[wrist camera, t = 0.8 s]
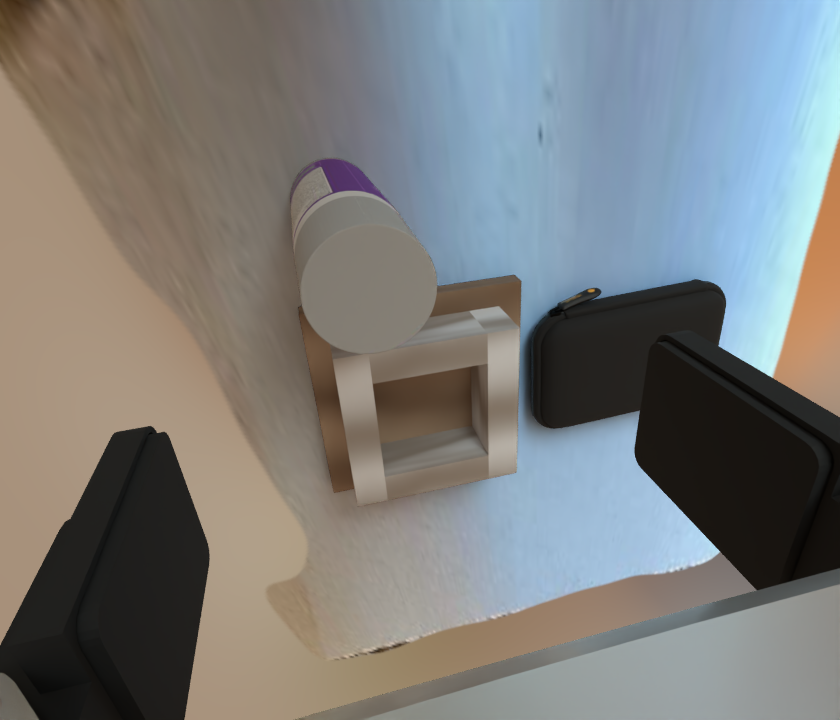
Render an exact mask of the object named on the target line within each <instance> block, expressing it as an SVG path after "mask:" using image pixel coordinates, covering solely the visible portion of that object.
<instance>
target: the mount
mask: <svg viewBox="0 0 840 720" xmlns="http://www.w3.org/2000/svg"><path fill="white" fill-rule="evenodd" d="M298 310H299V318H300V323H301V328H302V333H303V339H304V344H305V349H306V354H307V359H308V364H309V369H310V374H311V379H312V384H313V389H314V394H315V400H316V405H317V410H318V415H319V420H320V425H321V430H322V435H323V440H324V445H325V450H326V456H327V461H328V466H329V471H330V476H331V481H332V486H333V491H334V493H336V492H340V491H345V490H350V489H355V493H356V499H357V505H358V507H359V506H364V505H369V504H373V503H378V502H383V501H387V500H392V499H396V498H401V497H406V496H410V495H415V494H420V493H424V492H429V491H434V490H438V489H443V488H447V487H452V486H457V485H461V484H466V483H471V482H475V481H480V480H485V479H489V478H494V477H499V476H503V475H508V474H512V473H516V471H517V437H518V396H519V355H520V314H521V280H520V279H518V278H517V277H516V276H515V275H510V276H503V277H497V278H490V279H483V280H477V281H470V282H463V283H457V284H450V285H443V286H437V295H436V300H435V304H434V307H433V310H432V312H431V314H430V316H429V318H428V320H427V321H426V323H425V324H424V326H423V327H422V328H421V329H420V331H419V332H418V333H417V334H416V335H415V336H413V337H412V338H411V339H410V340H408V341H407V342H405V343H404V344H402V345H400V346H398V347H396V348H394V349H391V350H389V351H385V352H381V353H375V354H357V353H351V352H347V351H344V350H341V349H339V348H336V347H334V346H333V345H331V344H329V343H328V342H326V341H325V340H324V339H322V338H321V337H320V336H319V335H318V334H317V333H316V332H315V331H314V329H313V328H312V327H311V325H310V324H309V322H308V320H307V318H306V316H305V314H304V311H303V308H302V307H298Z"/></svg>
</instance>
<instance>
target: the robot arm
mask: <svg viewBox="0 0 840 720" xmlns="http://www.w3.org/2000/svg"><path fill="white" fill-rule="evenodd" d="M635 458H636V461H637V463H638V465H639V466H640V467H641V468H642V470H643V471H644V472H645V473H646V474H647V475H648V476H649V477H650V478H651V479H652V480H653V481H654V482H655V483H656V484H657V485H658V486H659V487H660V489H661V490H662V491H663V492H664V493H665V494H666V495H667V496H668V497H669V498H670V499H671V500H672V501H673V502H674V503H675V504H676V505H677V506H678V508H679V509H680V510H681V511H682V512H683V513H684V514H685V515H686V516H687V517H688V518H689V519H690V520H691V521H692V522H693V523H694V524H695V525H696V527H697V528H698V529H699V530H700V531H701V532H702V533H703V534H704V535H705V536H706V537H707V538H708V539H709V540H710V541H711V542H712V543H713V544H714V546H715V547H716V548H717V549H718V550H719V551H720V552H721V553H722V554H723V555H724V556H725V557H726V558H727V559H728V560H729V561H730V562H731V563H732V565H733V566H734V567H735V568H736V569H737V570H738V571H739V572H740V573H741V574H742V575H743V576H744V577H745V578H746V579H747V580H748V581H749V582H750V584H751V585H752V586H753V587H754V588H755V589H756V590H757V591H754V592H750V593H746V594H742V595H739V596H736V597H731V598H728V599H724V600H721V601H717V602H713V603H709V604H705V605H702V606H698V607H694V608H691V609H687V610H684V611H680V612H677V613H673V614H669V615H666V616H662V617H658V618H655V619H651V620H647V621H644V622H640V623H636V624H633V625H629V626H625V627H622V628H618V629H615V630H611V631H607V632H604V633H600V634H597V635H593V636H589V637H586V638H582V639H578V640H575V641H572V642H568V643H564V644H561V645H557V646H553V647H550V648H546V649H543V650H539V651H535V652H532V653H528V654H524V655H521V656H517V657H514V658H510V659H506V660H503V661H499V662H496V663H492V664H489V665H485V666H482V667H478V668H474V669H471V670H467V671H464V672H460V673H457V674H453V675H450V676H447V677H443V678H439V679H436V680H432V681H429V682H425V683H422V684H418V685H414V686H411V687H407V688H404V689H400V690H397V691H393V692H390V693H386V694H382V695H379V696H375V697H372V698H368V699H365V700H361V701H358V702H354V703H351V704H348V705H344V706H340V707H337V708H333V709H330V710H326V711H323V712H319V713H315V714H312V715H309V716H305V717H302V718H299V719H295V720H840V417H838V416H836V415H835V414H833V413H831V412H829V411H828V410H826V409H824V408H823V407H821V406H819V405H817V404H816V403H814V402H812V401H811V400H809V399H807V398H806V397H804V396H802V395H800V394H799V393H797V392H795V391H794V390H792V389H790V388H788V387H787V386H785V385H783V384H781V383H780V382H778V381H777V380H775V379H773V378H771V377H770V376H768V375H766V374H765V373H763V372H761V371H760V370H758V369H756V368H754V367H753V366H751V365H749V364H748V363H746V362H744V361H742V360H741V359H739V358H737V357H736V356H734V355H732V354H731V353H729V352H727V351H725V350H724V349H722V348H720V347H719V346H717V345H715V344H714V343H712V342H710V341H708V340H707V339H705V338H703V337H702V336H700V335H698V334H696V333H695V332H693V331H690V330H687V331H681V332H675V333H669V334H664V335H661V336H659V337H658V338H657V340H656V342H655V343H654V344H652V345H651V347H650V349H649V354H648V361H647V367H646V374H645V381H644V388H643V395H642V401H641V408H640V415H639V422H638V429H637V436H636V442H635ZM208 568H209V548H208V543H207V540H206V537H205V534H204V532H203V529H202V526H201V523H200V521H199V518H198V515H197V512H196V510H195V507H194V504H193V501H192V499H191V496H190V493H189V491H188V488H187V485H186V482H185V479H184V477H183V474H182V471H181V468H180V466H179V463H178V460H177V457H176V455H175V452H174V449H173V447H172V444H171V441H170V438H169V436H168V435H167V433H165V432H161V433H157V432H156V430H155V429H154V428H153V427H151V426H148V427H143V428H137V429H131V430H126V431H120V432H116V433H114V434H113V435H112V437H111V439H110V441H109V443H108V445H107V447H106V449H105V451H104V453H103V455H102V457H101V459H100V461H99V463H98V465H97V467H96V469H95V471H94V473H93V475H92V477H91V479H90V481H89V483H88V485H87V487H86V489H85V491H84V493H83V495H82V497H81V499H80V501H79V503H78V505H77V507H76V509H75V511H74V513H73V515H72V517H71V519H69V520H68V521H66V522H65V523H64V525H63V526H62V527H61V529H60V530H59V532H58V534H57V536H56V538H55V540H54V542H53V544H52V546H51V548H50V550H49V552H48V554H47V556H46V557H45V559H44V561H43V563H42V566H41V567H40V569H39V571H38V573H37V575H36V577H35V579H34V581H33V583H32V585H31V587H30V589H29V590H28V592H27V594H26V596H25V598H24V600H23V602H22V605H21V606H20V608H19V610H18V612H17V614H16V616H15V618H14V620H13V622H12V624H11V626H10V627H9V630H8V631H7V633H6V636H5V637H4V639H3V641H2V643H1V645H0V720H184V718H185V712H186V705H187V699H188V692H189V687H190V680H191V674H192V668H193V662H194V656H195V649H196V642H197V637H198V630H199V623H200V618H201V611H202V605H203V599H204V593H205V587H206V580H207V574H208Z"/></svg>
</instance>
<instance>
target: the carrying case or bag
mask: <svg viewBox="0 0 840 720" xmlns="http://www.w3.org/2000/svg"><path fill="white" fill-rule="evenodd" d="M600 294H601V290H600V289H598V288H590V289H587V290H585V291H583V292H581V293H579V294H577V295H575V296H573V297H571V298H569V299H567V300H564V301H562V302H560V303H558V306H557V307H555V308H553V309H551V310H550V311H549V312H548V315H547V316H545V317H544V318H543V319H542V320H541V321H540V322H539V324H538V325H537V327H536V328H535V330H534V333H533V336H532V414H533V416H534V418H535V419H536V420H537V422H538V423H539V424H541V425H543V426H545V427H548V428H553V429H555V428H563V427H569V426H574V425H578V424H583V423H587V422H591V421H596V420H600V419H605V418H609V417H613V416H618V415H622V414H626V413H630V412H635V411H639V410H640V408H641V401H642V395H643V388H644V381H645V374H646V367H647V361H648V354H649V349H650V347H651V345H652V344H654V343H655V342H656V340H657V338H658V337H659V336H661V335H664V334H669V333H675V332H681V331H687V330H690V331H693V332H695V333H696V334H698V335H700V336H702V337H703V338H705V339H707V340H708V341H710V342H712V343H714V344H715V345H717V346H718V345H719V340H720V335H721V330H722V325H723V319H724V314H725V308H726V298H725V295H724V293H723V291H722V290H721V288H720V287H719V286H717V285H715V284H714V283H711V282H708V281H701V280H697V279H695V280H692V281H688V282H683V283H678V284H673V285H667V286H662V287H657V288H652V289H647V290H641V291H636V292H631V293H626V294H621V295H616V296H610V297H605V298H600V299H595V300H592V299H594V298H596V297H597V296H599V295H600ZM589 300H590V301H589Z"/></svg>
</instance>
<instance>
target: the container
mask: <svg viewBox="0 0 840 720" xmlns="http://www.w3.org/2000/svg"><path fill="white" fill-rule="evenodd" d="M290 202H291V220H292V238H293V254H294V260H295V266H296V273H297V279H298V286H299V292H300V299H301V304H302V308H303V311H304V314H305V316H306V318H307V320H308V322H309V324H310V325H311V327H312V328H313V329H314V331H315V332H316V333H317V334H318V335H319V336H320V337H321V338H322V339H324V340H325V341H326V342H328V343H329V344H331V345H333V346H334V347H336V348H339V349H341V350H344V351H347V352H351V353H357V354H375V353H381V352H385V351H389V350H391V349H394V348H396V347H398V346H400V345H402V344H404V343H405V342H407V341H408V340H410V339H411V338H412V337H413V336H415V335H416V334H417V333H418V332H419V331H420V329H421V328H422V327H423V326H424V324H425V323H426V321H427V320H428V318H429V316H430V314H431V312H432V310H433V307H434V304H435V300H436V295H437V278H436V272H435V268H434V265H433V263H432V261H431V258H430V257H429V255H428V253H427V252H426V250H425V249H424V247H423V246H422V245H421V243H420V242H419V241H418V239H417V238H416V237H415V235H414V234H413V232H412V231H411V230H410V228H409V227H408V226H407V224H406V223H405V221H404V220H403V219H402V217H401V216H400V214H399V213H398V212H397V210H396V209H395V208H394V207H393V206H392V205H391V204H390V203H389V201H388V200H387V199H386V198H385V197H384V196H383V195H382V194H381V192H380V191H379V190H378V189H377V188H376V187H375V186H374V185H373V183H372V182H371V181H370V180H369V179H368V178H367V177H366V176H365V174H364V173H363V172H362V171H361V170H360V169H358V168H357V167H356V166H355V165H353V164H351V163H350V162H348V161H345V160H342V159H337V158H324V159H319V160H316V161H314V162H312V163H310V164H309V165H307V166H306V167H305V168H303V169H302V170H301V171H300V173H299V174H298V175H297V177H296V179H295V181H294V183H293V186H292V190H291V198H290Z"/></svg>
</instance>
